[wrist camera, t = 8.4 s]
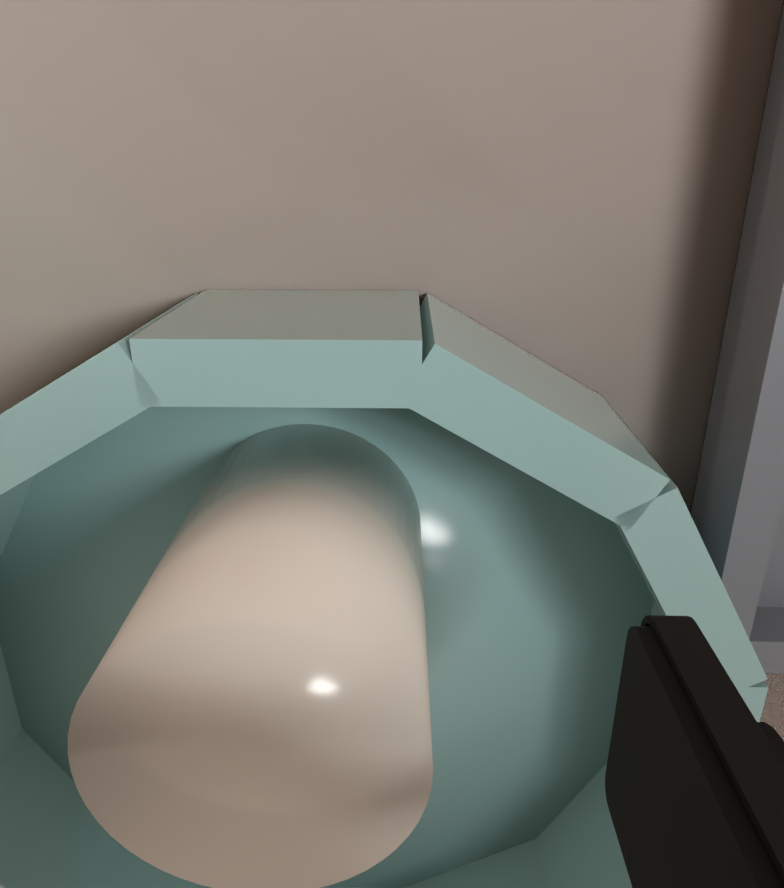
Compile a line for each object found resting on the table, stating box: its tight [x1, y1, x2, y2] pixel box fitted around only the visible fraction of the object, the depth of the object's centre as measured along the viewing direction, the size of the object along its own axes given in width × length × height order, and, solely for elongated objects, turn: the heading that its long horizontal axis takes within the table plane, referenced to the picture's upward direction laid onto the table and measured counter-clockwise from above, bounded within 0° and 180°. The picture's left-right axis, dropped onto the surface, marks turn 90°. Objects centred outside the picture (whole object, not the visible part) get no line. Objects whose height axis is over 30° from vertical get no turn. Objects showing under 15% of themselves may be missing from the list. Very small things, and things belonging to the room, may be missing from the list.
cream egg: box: [68, 424, 433, 888], centre depth 11 cm, size 4×4×6 cm
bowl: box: [0, 290, 769, 888], centre depth 15 cm, size 16×16×4 cm
